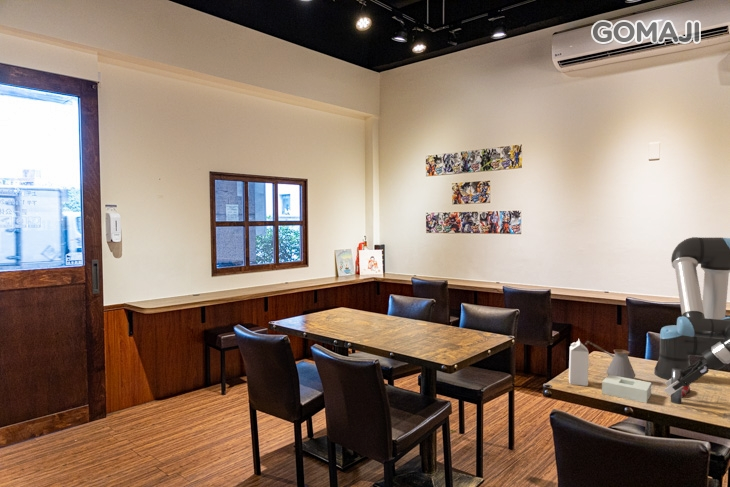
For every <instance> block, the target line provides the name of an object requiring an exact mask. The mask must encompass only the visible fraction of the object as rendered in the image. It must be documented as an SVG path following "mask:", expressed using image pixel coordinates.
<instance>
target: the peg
mask: <svg viewBox="0 0 730 487" xmlns="http://www.w3.org/2000/svg"><path fill="white" fill-rule="evenodd" d="M682 378H683V370H681V369H676V368H673V369H672V379H671V384H673V383H675V382H676V381H678V380H677V379H680V380H681V379H682ZM682 398H683V397H682V388H681V389H679V390H678V391H676V392H674V393H673V394H671V395H670V403H671V404H672V403H673V404H677V405H680V404H682V403H683V402H682V400H683V399H682Z"/></svg>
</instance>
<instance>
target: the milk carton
mask: <svg viewBox="0 0 730 487" xmlns="http://www.w3.org/2000/svg"><path fill="white" fill-rule="evenodd" d="M589 354H590V353H589V350H588V348H587V347H586V346H585V344H583V343H582V342H581V341H580V338H578V340H577V341H576V342H575V341H574V342H572V343H570V346H569V357H568V358H569V360H568V382H569V385H573V386H586V387H588V385H589V361H590V360H589V358H590V357H589Z"/></svg>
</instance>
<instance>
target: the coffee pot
mask: <svg viewBox="0 0 730 487" xmlns="http://www.w3.org/2000/svg"><path fill="white" fill-rule="evenodd" d="M588 344H590V345H591V346H593V347H594V348H596V349H598V350H600V351H601V352H603V353H605V354H608V355H609V356H610V357H612V360H611V362H610V364H609V366H608V367H607V369H606V374H607V376H608V375H614V376H619V377H624V378H630V379H635V378H636V373H635V371H634V368H633V366H632V363H631V361H630V359H629V354H630V350H629V351H628V350H626V349H613V352H614V354H612V353H610V352H609V351H606V350H605V349H604V348H602V347H600V346H599V345H597V344H595V343H593V342H591V341H590V340H586V342H585V343H584V345H588Z"/></svg>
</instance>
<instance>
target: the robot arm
mask: <svg viewBox="0 0 730 487" xmlns="http://www.w3.org/2000/svg"><path fill="white" fill-rule="evenodd" d="M670 260H671V262H670V263H671V267H672V268H673V269H675V270H674V271H675V277H676V278H675V279H676V284H677V290H678V297H679V304H680V311H681V316H678V317H677V318H676V325H675V324H674V325H673V324H672V325H665V326H663V327H661V329H660V332H659V356H658V360H657V362H656V364H655V366H654V372H653V373H654V375H656V376H657V377H659V378H662V379H665V380H666V381H665V382H664V384H665V385H666V386H667V387H665V388H664V389H663V391H664V393H666V394H667V395H668V396H670V397H671V394H673V393H674V392H676V391H678V390H679V389H681V388H682V387H687V386H688V385H689V386H690V385H691V384H693V383H694V382H695V381H698V379H700V378H702V376H704V375H706V374H708V373H709V371H710V370H709V369H710V368H713V369H714V370H716V371H719V370H721V369H722V368H724V367H726V365H728V364H730V316H726V314H727V312H726V311H727V302H728V300H727V299H728V289H729V288H728V286H729V276H730V237H699V236H698V237H695V236H692V237H688V238H686V239H684V240H682V241H680V242H679V243H678V244H677V245H676V247H675V248H674V250H673V251H672V253H671V259H670ZM699 264H700V268H701V269H702V270H703V271H704V273H703V274H704V275H703V277H704V278H703V287H702V289H703V290H702V294H701V288H700V283H699V282H700V281H699V276H698V271H697V270H698V269H697V267H698V265H699ZM690 356H692V357H701V358H700V359H698V360H697V361H695V362H694V363H691V362H690ZM673 368H676V369H681V370H683V378H682V379H681V380H680V379H677V380H678V381H676V382H675V383H673V384H671V379H672V369H673Z"/></svg>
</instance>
